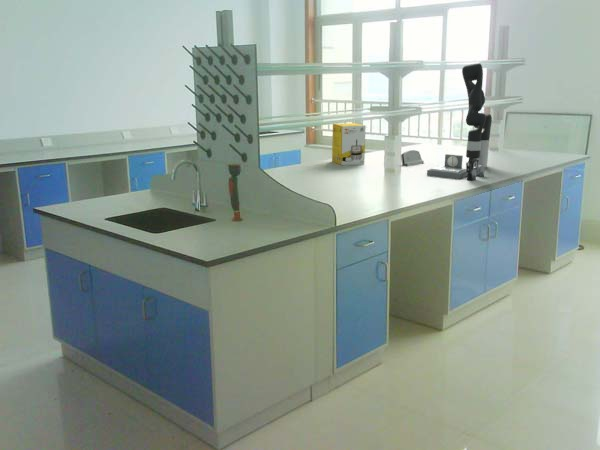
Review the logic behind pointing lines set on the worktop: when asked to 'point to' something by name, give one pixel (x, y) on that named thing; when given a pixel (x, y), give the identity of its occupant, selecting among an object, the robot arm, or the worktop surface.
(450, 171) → the scale
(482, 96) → the robot arm
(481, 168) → the cylinder
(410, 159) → the grey rounded panel
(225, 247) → the worktop surface
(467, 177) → the cylinder
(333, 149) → the packaging box
